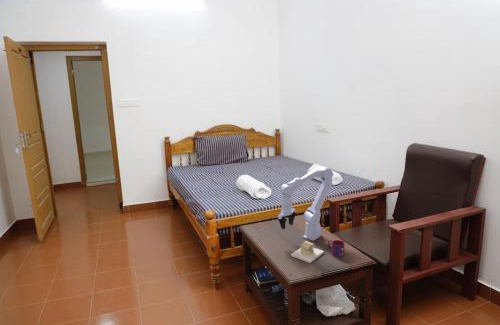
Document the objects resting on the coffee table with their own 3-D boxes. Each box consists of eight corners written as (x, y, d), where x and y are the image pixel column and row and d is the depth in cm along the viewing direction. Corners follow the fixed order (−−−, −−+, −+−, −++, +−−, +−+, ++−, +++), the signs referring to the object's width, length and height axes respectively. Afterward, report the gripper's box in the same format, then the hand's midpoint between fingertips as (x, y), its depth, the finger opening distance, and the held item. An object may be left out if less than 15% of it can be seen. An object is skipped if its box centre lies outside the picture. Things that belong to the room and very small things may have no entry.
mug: (337, 258, 179) (338, 246, 177) (324, 251, 187) (324, 239, 186) (346, 255, 182) (347, 243, 181) (333, 247, 191) (333, 236, 189)
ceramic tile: (305, 246, 193) (305, 244, 193) (323, 253, 185) (323, 251, 185) (291, 256, 183) (291, 254, 183) (309, 263, 175) (309, 261, 175)
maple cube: (305, 249, 188) (305, 241, 186) (313, 252, 184) (313, 243, 183) (300, 252, 184) (300, 244, 183) (308, 255, 181) (308, 247, 180)
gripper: (288, 200, 203) (288, 221, 206) (273, 206, 193) (274, 228, 196) (298, 202, 198) (298, 223, 201) (283, 209, 188) (283, 232, 191)
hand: (287, 226), depth 198 cm, fingers open, 7 cm apart
